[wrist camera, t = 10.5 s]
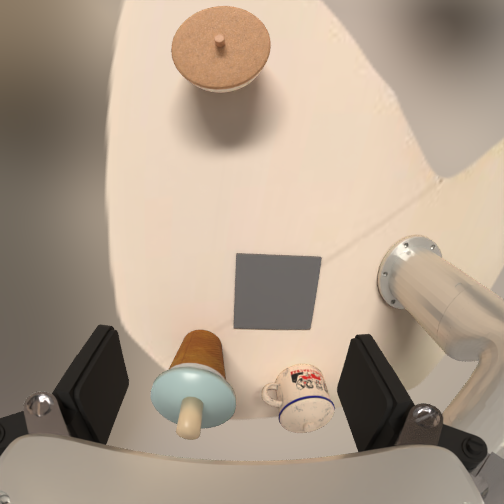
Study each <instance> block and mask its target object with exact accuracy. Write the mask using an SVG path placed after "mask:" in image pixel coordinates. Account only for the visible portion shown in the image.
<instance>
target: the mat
mask: <svg viewBox="0 0 504 504" xmlns="http://www.w3.org/2000/svg"><path fill="white" fill-rule="evenodd" d="M321 259H322V258H321V257H315V256H290V255H266V254H242V253H237V254H236V278H235V304H234V328H246V329H310V328H311V322H312V316H313V310H314V304H315V298H316V292H317V286H318V279H319V273H320V266H321Z"/></svg>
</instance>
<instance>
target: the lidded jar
mask: <svg viewBox="0 0 504 504" xmlns="http://www.w3.org/2000/svg"><path fill="white" fill-rule="evenodd" d="M171 52H172V58H173V61H174V64H175V66H176V68H177V69H178V71H179V72H180V73H181V74H182V76H183V77H185V78H186V79H187V80H188V81H190V82H191V83H192V84H194V85H195V86H197V87H199V88H201V89H203V90H206V91H210V92H217V93H223V92H231V91H235V90H238V89H240V88H242V87H245V86H246V85H248V84H249V83H251V82H252V81H253V80H254V79H255V78H256V77H257V76H258V75H259V73H260V72H261V70H262V69H263V67H264V65H265V64H266V62H267V59H268V57H269V53H270V37H269V34H268V31H267V29H266V27H265V26H264V24H263V23H262V22H261V21H260V20H259V19H258V18H257V17H256V16H254V15H253V14H251V13H250V12H248V11H246V10H243V9H240V8H236V7H230V6H217V7H211V8H208V9H204V10H202V11H199V12H197V13H195V14H194V15H192V16H191V17H189V18H188V19H187V20H186V21H184V23H183V24H182V25H181V26H180V27H179V29H178V30H177V32H176V34H175V36H174V38H173V42H172V50H171Z"/></svg>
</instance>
